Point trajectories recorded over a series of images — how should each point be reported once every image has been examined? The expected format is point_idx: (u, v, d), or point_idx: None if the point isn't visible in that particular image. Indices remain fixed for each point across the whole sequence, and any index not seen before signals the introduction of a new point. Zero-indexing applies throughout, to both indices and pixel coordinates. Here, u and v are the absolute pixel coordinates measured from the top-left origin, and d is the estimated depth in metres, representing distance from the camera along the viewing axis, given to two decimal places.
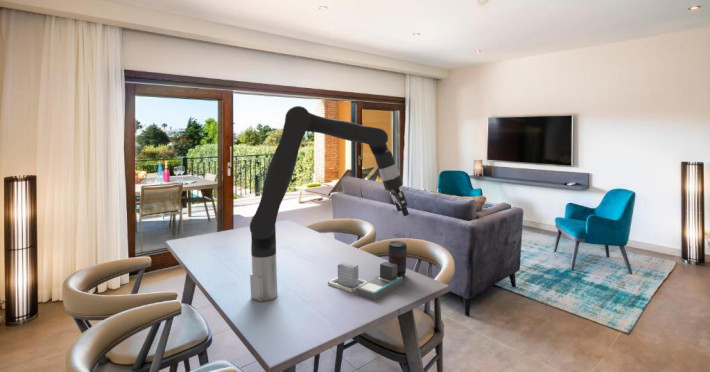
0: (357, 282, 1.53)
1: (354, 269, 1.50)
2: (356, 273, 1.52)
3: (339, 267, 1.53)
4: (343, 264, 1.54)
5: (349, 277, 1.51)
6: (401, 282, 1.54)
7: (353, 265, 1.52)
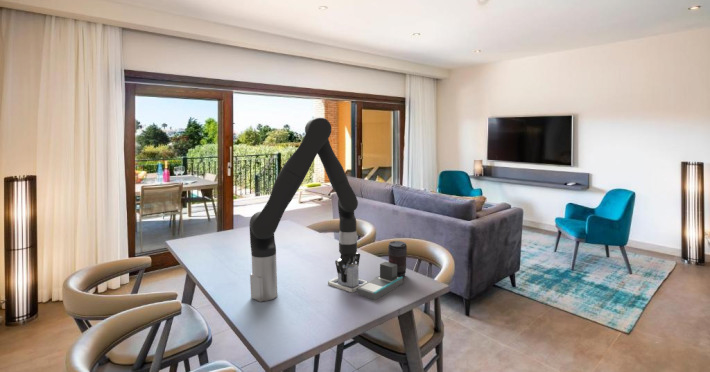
0: (357, 282, 1.53)
1: (354, 269, 1.50)
2: (356, 273, 1.52)
3: None
4: None
5: (349, 277, 1.51)
6: (401, 282, 1.54)
7: (353, 265, 1.52)
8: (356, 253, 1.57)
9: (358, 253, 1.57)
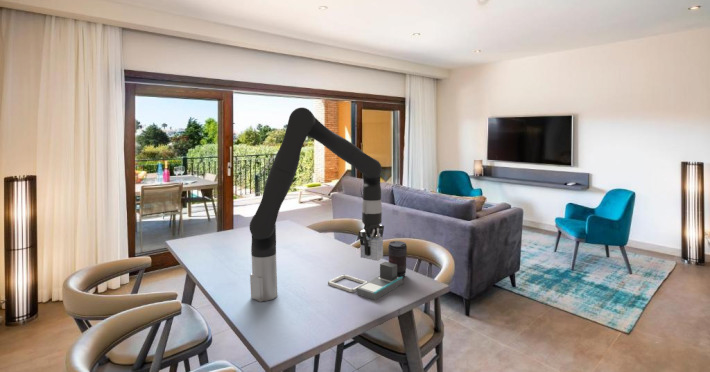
0: (381, 255, 1.42)
1: (379, 241, 1.39)
2: (381, 245, 1.41)
3: None
4: None
5: (373, 249, 1.40)
6: (401, 282, 1.54)
7: (377, 237, 1.41)
8: (380, 225, 1.46)
9: (382, 225, 1.46)
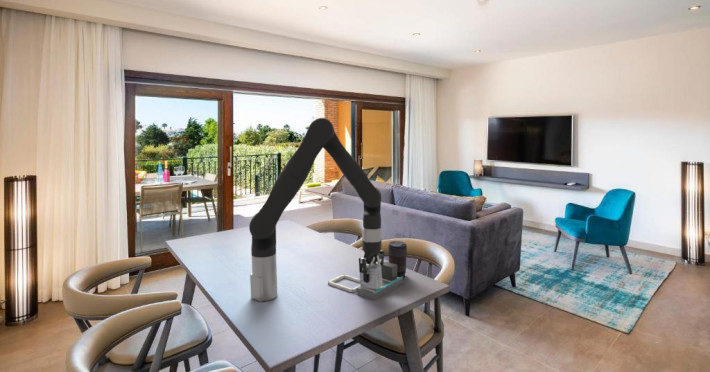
0: (381, 283, 1.43)
1: (377, 269, 1.41)
2: (379, 274, 1.42)
3: None
4: None
5: (372, 278, 1.41)
6: (401, 282, 1.54)
7: (376, 265, 1.43)
8: (380, 250, 1.47)
9: None
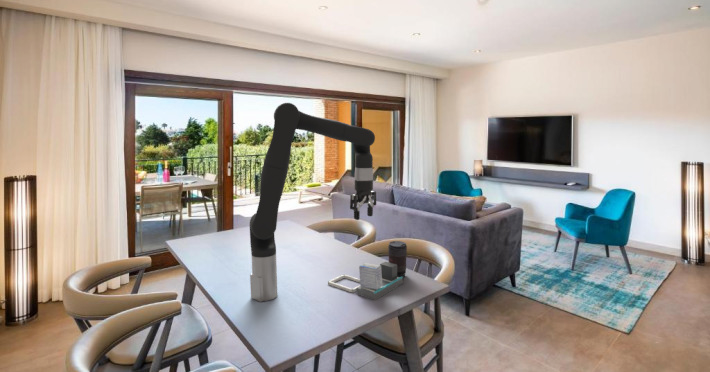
0: (381, 284, 1.43)
1: (377, 269, 1.41)
2: (379, 274, 1.42)
3: (360, 268, 1.44)
4: (365, 265, 1.45)
5: (372, 278, 1.41)
6: (401, 282, 1.54)
7: (376, 265, 1.43)
8: (372, 191, 1.53)
9: (374, 191, 1.53)
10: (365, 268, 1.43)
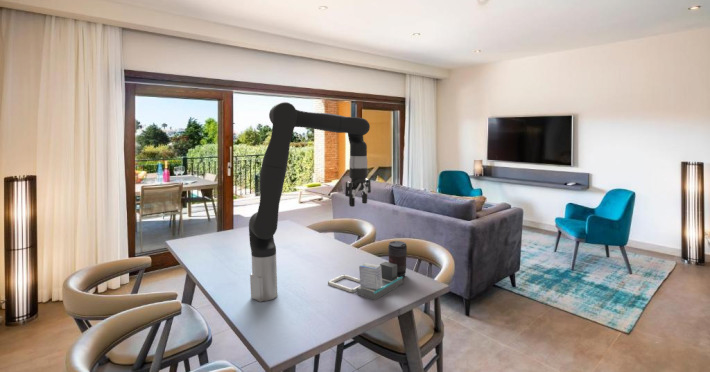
0: (381, 284, 1.43)
1: (377, 269, 1.41)
2: (379, 274, 1.42)
3: (360, 268, 1.44)
4: (365, 265, 1.45)
5: (372, 278, 1.41)
6: (401, 282, 1.54)
7: (376, 265, 1.43)
8: (366, 179, 1.58)
9: (368, 179, 1.58)
10: (365, 268, 1.43)
